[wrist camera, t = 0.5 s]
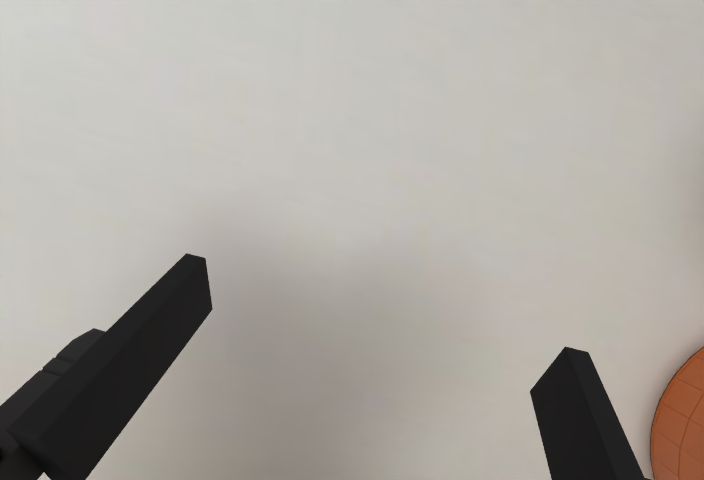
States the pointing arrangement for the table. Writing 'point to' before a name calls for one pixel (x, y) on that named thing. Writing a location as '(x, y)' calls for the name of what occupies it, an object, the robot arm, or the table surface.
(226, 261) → the table surface
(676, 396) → the pan
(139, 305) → the robot arm
